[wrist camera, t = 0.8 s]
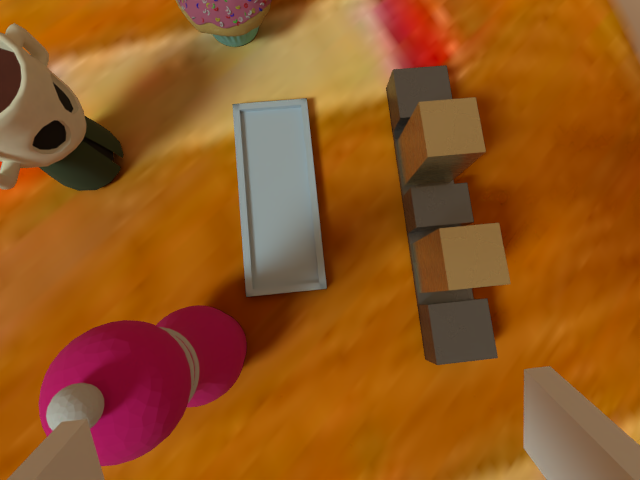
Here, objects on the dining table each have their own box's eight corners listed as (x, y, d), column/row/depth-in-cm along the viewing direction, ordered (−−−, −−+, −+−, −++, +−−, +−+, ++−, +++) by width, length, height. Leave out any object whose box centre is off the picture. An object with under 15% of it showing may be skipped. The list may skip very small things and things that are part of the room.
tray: (326, 288, 34) (326, 288, 33) (247, 296, 33) (246, 296, 32) (306, 103, 36) (306, 98, 36) (234, 109, 36) (232, 104, 35)
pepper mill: (239, 294, 33) (139, 281, 14) (263, 374, 32) (192, 487, 12) (159, 320, 33) (-67, 347, 13) (181, 403, 32) (-30, 569, 12)
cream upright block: (468, 287, 34) (510, 284, 27) (419, 293, 33) (448, 290, 26) (460, 238, 34) (499, 222, 27) (412, 243, 34) (439, 228, 27)
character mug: (118, 222, 34) (3, 173, 21) (39, 212, 34) (-124, 158, 21) (141, 111, 36) (48, 5, 23) (67, 102, 36) (-68, -9, 23)
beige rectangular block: (451, 181, 35) (486, 151, 28) (404, 185, 35) (427, 156, 28) (443, 136, 36) (475, 97, 29) (397, 140, 36) (418, 101, 29)
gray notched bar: (480, 352, 33) (497, 357, 30) (425, 359, 33) (436, 364, 30) (435, 84, 37) (446, 65, 34) (386, 88, 37) (392, 69, 34)
